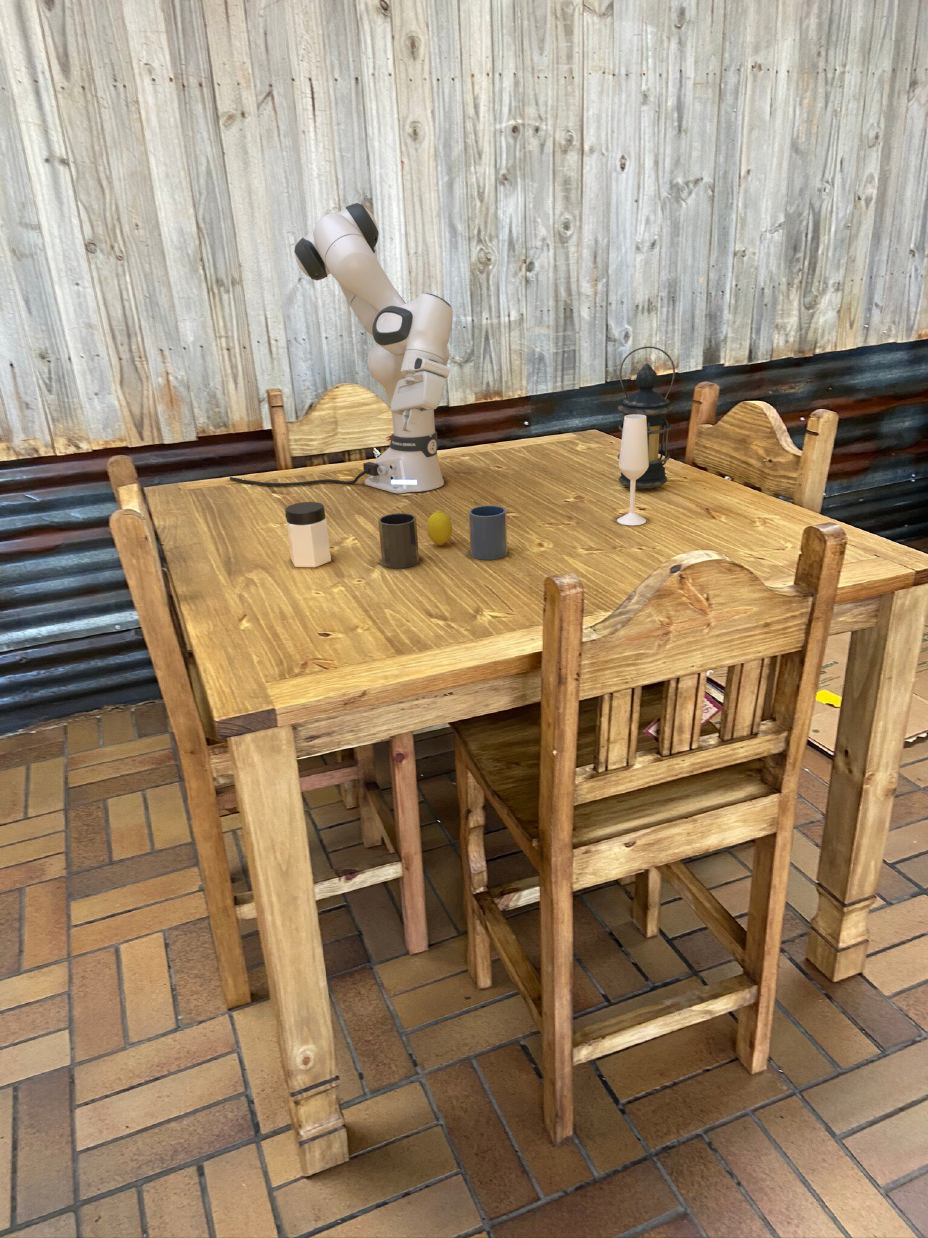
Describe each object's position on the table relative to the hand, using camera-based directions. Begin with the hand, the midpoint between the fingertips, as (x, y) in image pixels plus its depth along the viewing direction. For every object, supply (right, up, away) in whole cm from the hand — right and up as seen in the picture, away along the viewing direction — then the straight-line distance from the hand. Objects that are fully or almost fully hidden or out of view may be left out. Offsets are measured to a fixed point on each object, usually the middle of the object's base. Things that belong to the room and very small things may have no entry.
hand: (407, 431), depth 195 cm
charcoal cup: (-1, -29, -8) cm, 30 cm away
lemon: (+7, -25, 0) cm, 26 cm away
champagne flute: (+51, -19, +10) cm, 55 cm away
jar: (-20, -29, -5) cm, 36 cm away
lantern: (+59, -7, +34) cm, 68 cm away
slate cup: (+18, -27, -6) cm, 33 cm away
